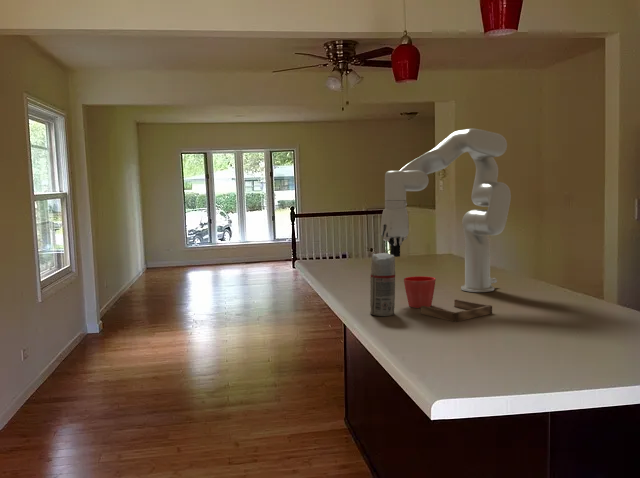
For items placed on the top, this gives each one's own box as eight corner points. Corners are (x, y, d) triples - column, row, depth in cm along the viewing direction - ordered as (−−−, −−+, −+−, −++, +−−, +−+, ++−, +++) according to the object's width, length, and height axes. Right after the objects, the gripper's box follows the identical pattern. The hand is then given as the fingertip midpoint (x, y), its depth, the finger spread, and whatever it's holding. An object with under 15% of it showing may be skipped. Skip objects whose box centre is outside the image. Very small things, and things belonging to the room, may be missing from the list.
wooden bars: (456, 306, 198) (456, 299, 198) (492, 313, 186) (492, 305, 186) (420, 313, 188) (420, 306, 187) (455, 321, 176) (455, 313, 176)
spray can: (398, 312, 191) (397, 252, 189) (393, 317, 184) (392, 255, 182) (373, 310, 194) (372, 251, 192) (367, 316, 186) (366, 254, 184)
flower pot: (400, 303, 205) (400, 276, 204) (431, 302, 206) (430, 275, 205) (407, 309, 194) (407, 281, 193) (439, 308, 195) (439, 280, 194)
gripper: (403, 204, 213) (403, 254, 215) (372, 205, 205) (372, 257, 206) (417, 205, 207) (417, 255, 209) (387, 206, 199) (387, 258, 200)
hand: (395, 256), depth 208 cm, fingers closed
